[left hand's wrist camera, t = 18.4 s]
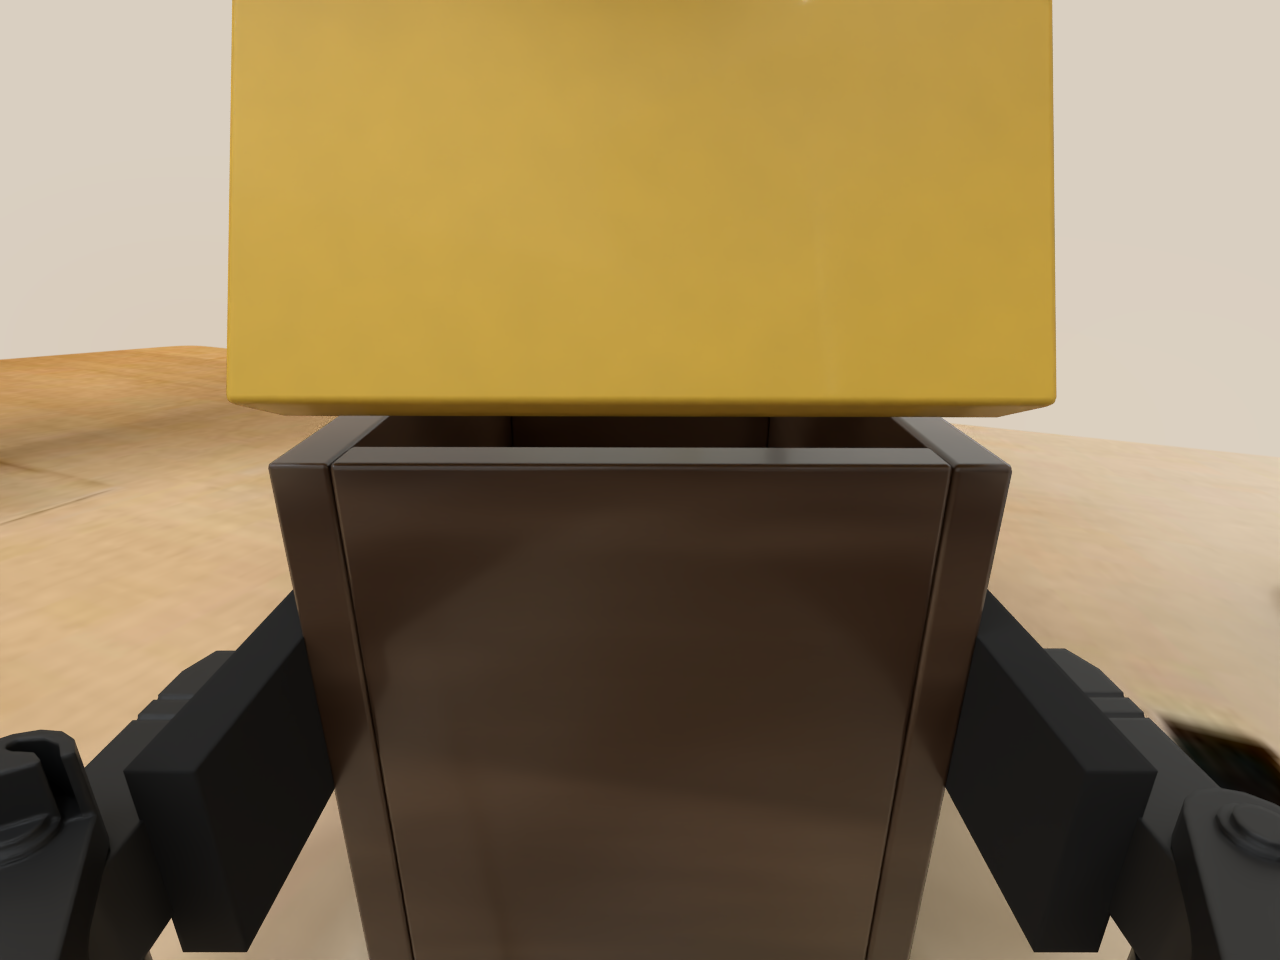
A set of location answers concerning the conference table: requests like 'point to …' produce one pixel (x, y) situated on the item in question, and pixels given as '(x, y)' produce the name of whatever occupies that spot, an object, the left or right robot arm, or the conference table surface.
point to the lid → (642, 208)
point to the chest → (639, 675)
